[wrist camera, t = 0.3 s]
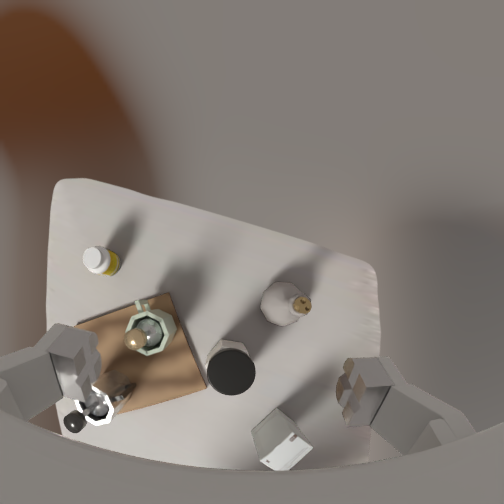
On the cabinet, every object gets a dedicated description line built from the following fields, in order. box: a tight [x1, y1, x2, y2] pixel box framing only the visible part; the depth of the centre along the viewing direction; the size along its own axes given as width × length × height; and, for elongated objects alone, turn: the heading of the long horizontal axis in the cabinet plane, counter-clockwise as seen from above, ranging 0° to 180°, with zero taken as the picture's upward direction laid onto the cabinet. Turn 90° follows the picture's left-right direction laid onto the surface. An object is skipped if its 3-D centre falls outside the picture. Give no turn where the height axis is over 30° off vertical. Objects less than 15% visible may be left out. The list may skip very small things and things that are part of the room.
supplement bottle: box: [83, 246, 120, 276], centre depth 55 cm, size 5×5×10 cm
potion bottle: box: [260, 282, 312, 327], centre depth 53 cm, size 9×9×18 cm
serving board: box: [74, 293, 207, 414], centre depth 56 cm, size 21×23×1 cm
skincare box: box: [251, 408, 313, 471], centre depth 51 cm, size 8×6×15 cm
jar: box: [205, 339, 256, 395], centre depth 53 cm, size 9×8×12 cm
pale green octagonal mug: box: [125, 300, 177, 356], centre depth 53 cm, size 10×7×10 cm
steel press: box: [75, 370, 137, 425], centre depth 48 cm, size 7×10×13 cm
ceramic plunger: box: [124, 319, 162, 350], centre depth 44 cm, size 5×5×10 cm
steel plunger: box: [64, 390, 109, 433], centre depth 38 cm, size 5×5×11 cm
